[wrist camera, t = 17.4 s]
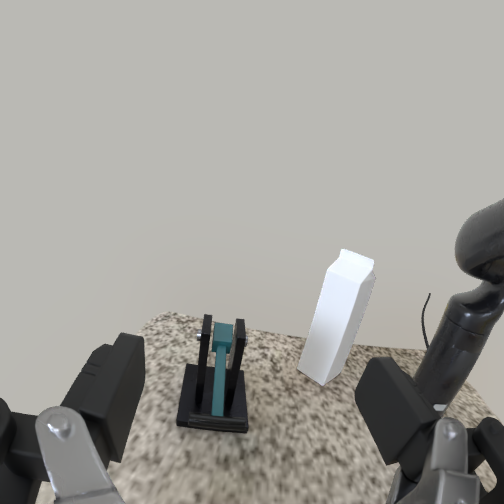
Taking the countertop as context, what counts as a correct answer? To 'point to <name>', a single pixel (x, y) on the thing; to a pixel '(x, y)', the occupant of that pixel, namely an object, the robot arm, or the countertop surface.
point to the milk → (337, 316)
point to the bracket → (202, 380)
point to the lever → (219, 385)
